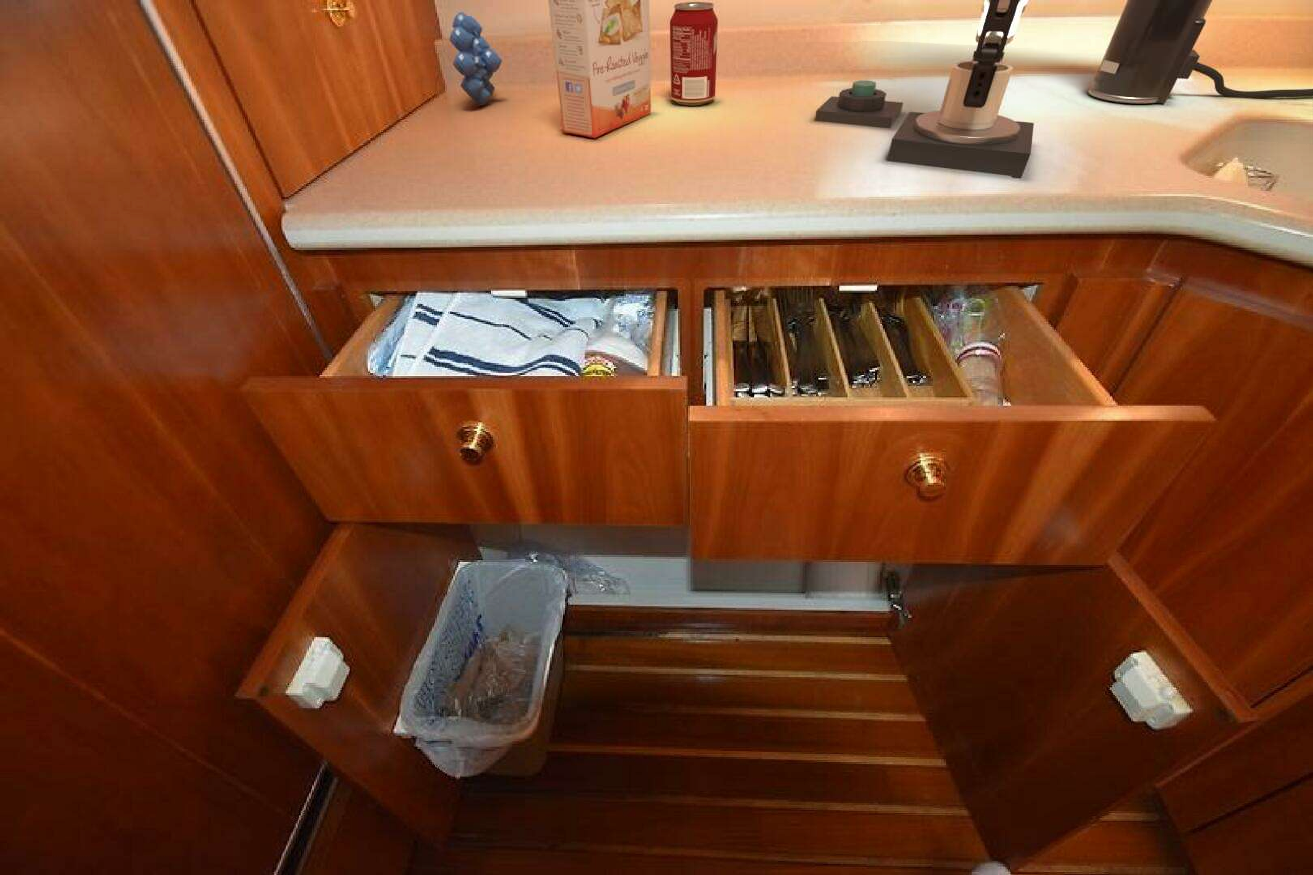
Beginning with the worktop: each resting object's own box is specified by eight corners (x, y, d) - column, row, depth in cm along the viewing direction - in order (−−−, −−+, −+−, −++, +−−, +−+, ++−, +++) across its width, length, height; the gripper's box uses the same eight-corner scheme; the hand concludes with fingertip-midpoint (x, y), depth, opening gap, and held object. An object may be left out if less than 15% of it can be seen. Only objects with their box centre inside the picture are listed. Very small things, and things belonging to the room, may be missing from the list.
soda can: (711, 107, 86) (715, 7, 78) (666, 106, 87) (665, 8, 79) (717, 96, 91) (721, 1, 83) (675, 95, 92) (674, 1, 84)
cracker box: (597, 140, 76) (579, -73, 62) (561, 134, 79) (535, -72, 64) (654, 114, 85) (650, -78, 71) (620, 109, 87) (609, -78, 73)
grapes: (500, 115, 86) (481, 16, 78) (455, 116, 87) (432, 17, 79) (518, 95, 95) (503, 4, 87) (477, 96, 95) (458, 5, 87)
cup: (995, 118, 68) (1014, 62, 64) (991, 132, 64) (1011, 74, 60) (941, 113, 70) (956, 59, 66) (934, 126, 66) (950, 70, 62)
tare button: (875, 94, 79) (878, 81, 78) (871, 99, 77) (873, 86, 76) (853, 92, 80) (855, 79, 79) (848, 97, 78) (850, 84, 77)
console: (900, 113, 82) (906, 89, 80) (890, 129, 76) (895, 103, 74) (829, 107, 85) (833, 83, 83) (814, 121, 80) (818, 96, 78)
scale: (1025, 145, 70) (1036, 115, 68) (1021, 178, 62) (1034, 145, 60) (904, 133, 75) (911, 104, 73) (886, 161, 67) (893, 130, 65)
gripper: (997, -103, 60) (948, 80, 71) (986, -100, 50) (932, 110, 61) (1081, -106, 57) (1017, 84, 68) (1086, -103, 48) (1010, 116, 59)
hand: (976, 96), depth 65 cm, fingers open, 8 cm apart
